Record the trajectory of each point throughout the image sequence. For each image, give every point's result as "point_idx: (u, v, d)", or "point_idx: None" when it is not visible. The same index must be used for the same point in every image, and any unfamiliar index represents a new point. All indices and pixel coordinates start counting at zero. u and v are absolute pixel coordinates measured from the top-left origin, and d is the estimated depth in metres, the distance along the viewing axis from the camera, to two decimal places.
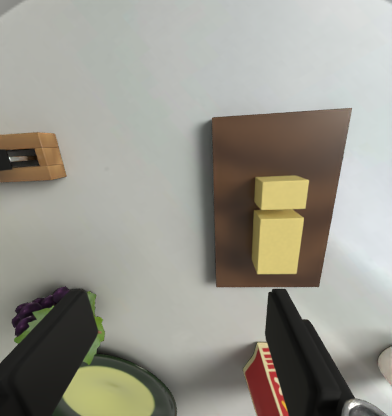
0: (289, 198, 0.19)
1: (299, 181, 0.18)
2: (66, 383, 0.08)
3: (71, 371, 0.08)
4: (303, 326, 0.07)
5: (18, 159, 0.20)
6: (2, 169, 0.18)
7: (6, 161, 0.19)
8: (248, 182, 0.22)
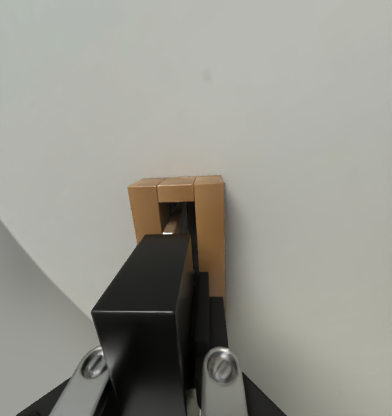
0: None
1: None
2: None
3: None
4: (206, 298, 0.08)
5: (172, 224, 0.09)
6: (184, 244, 0.07)
7: (169, 237, 0.08)
8: None
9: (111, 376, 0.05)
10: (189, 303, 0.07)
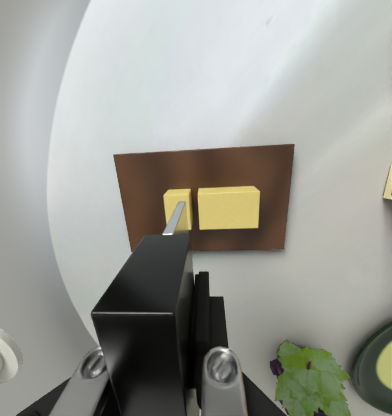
0: None
1: (164, 203, 0.22)
2: None
3: None
4: (206, 298, 0.08)
5: (172, 225, 0.09)
6: (184, 245, 0.07)
7: (169, 237, 0.08)
8: None
9: (111, 377, 0.05)
10: (189, 304, 0.07)
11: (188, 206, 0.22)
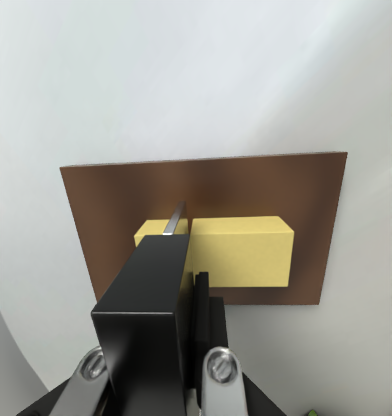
0: None
1: None
2: None
3: None
4: (206, 298, 0.08)
5: (172, 225, 0.09)
6: (184, 245, 0.07)
7: (169, 237, 0.08)
8: None
9: (111, 377, 0.05)
10: (189, 304, 0.07)
11: None
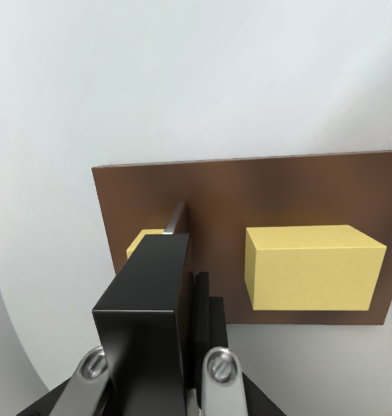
0: None
1: None
2: None
3: None
4: (206, 298, 0.08)
5: (172, 224, 0.09)
6: (184, 244, 0.07)
7: (169, 237, 0.08)
8: None
9: (112, 375, 0.05)
10: (189, 302, 0.07)
11: None
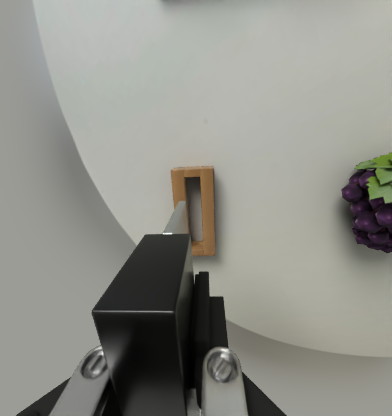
0: None
1: None
2: None
3: None
4: (206, 298, 0.08)
5: (172, 224, 0.09)
6: (184, 244, 0.07)
7: (169, 237, 0.08)
8: None
9: (111, 376, 0.05)
10: (189, 303, 0.07)
11: None
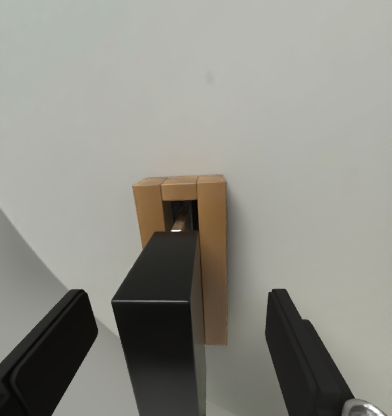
0: None
1: None
2: (66, 383, 0.08)
3: (71, 371, 0.08)
4: (303, 326, 0.07)
5: (180, 222, 0.09)
6: (193, 240, 0.07)
7: (178, 234, 0.08)
8: None
9: (127, 363, 0.05)
10: (198, 296, 0.07)
11: None
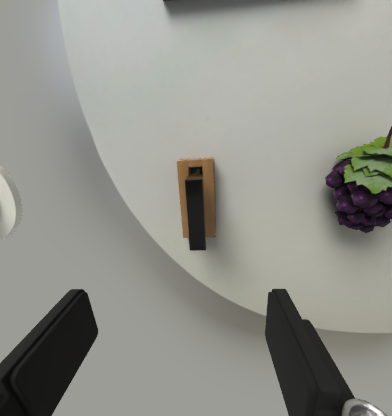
0: None
1: None
2: (66, 383, 0.08)
3: (71, 371, 0.08)
4: (303, 326, 0.07)
5: (196, 173, 0.25)
6: (202, 174, 0.23)
7: (196, 174, 0.24)
8: None
9: (186, 198, 0.22)
10: (203, 190, 0.23)
11: None
